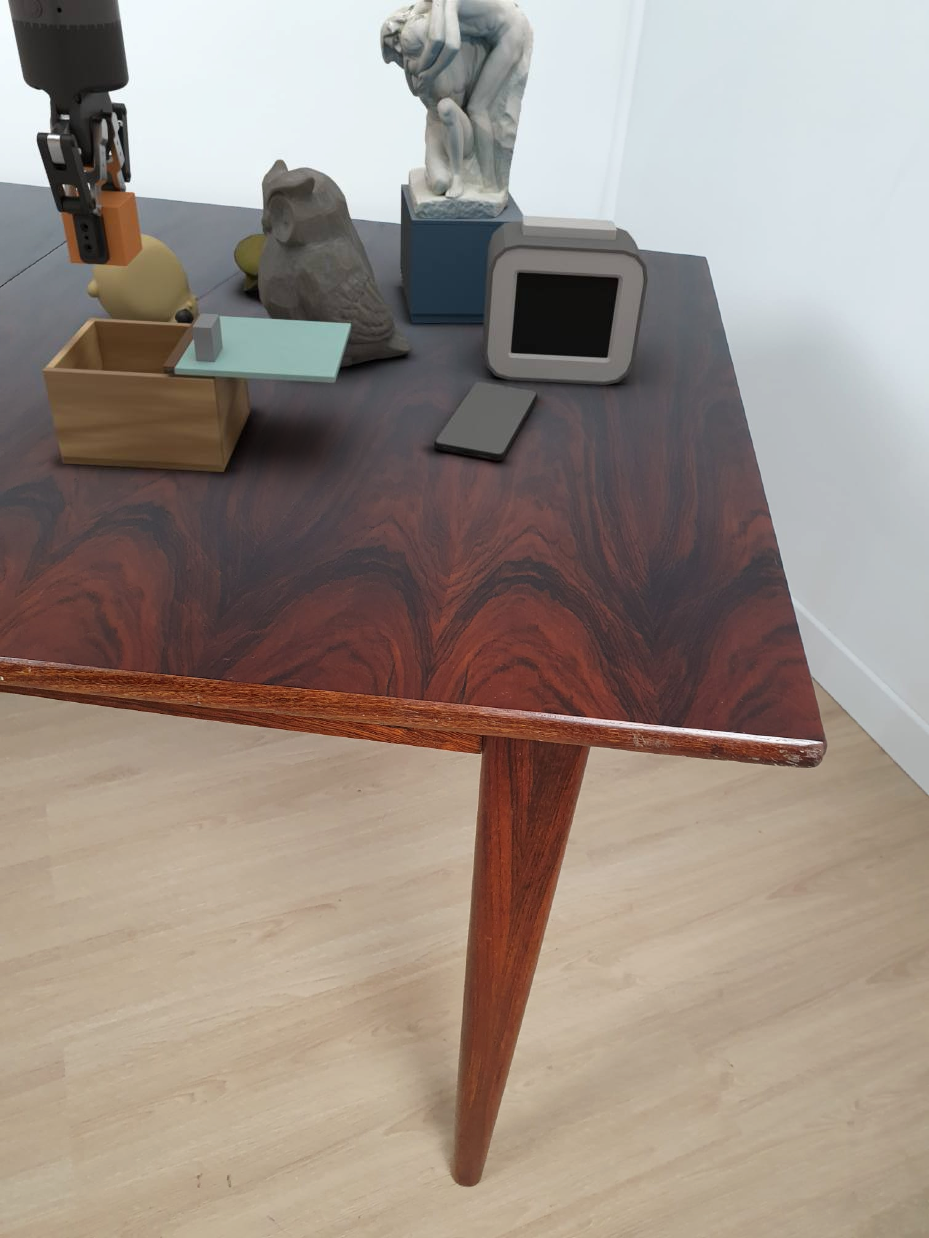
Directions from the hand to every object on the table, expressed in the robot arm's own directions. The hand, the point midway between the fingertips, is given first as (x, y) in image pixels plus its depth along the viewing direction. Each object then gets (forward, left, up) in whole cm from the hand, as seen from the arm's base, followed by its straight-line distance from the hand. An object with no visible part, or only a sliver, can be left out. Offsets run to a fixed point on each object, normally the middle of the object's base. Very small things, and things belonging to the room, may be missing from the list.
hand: (106, 251), depth 81 cm
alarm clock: (+47, +1, -18) cm, 50 cm away
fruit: (+26, +36, -18) cm, 48 cm away
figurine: (+25, +12, -18) cm, 33 cm away
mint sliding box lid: (+11, -5, -8) cm, 15 cm away
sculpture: (+45, +23, -18) cm, 54 cm away
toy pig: (+8, +27, -18) cm, 33 cm away
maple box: (+2, 0, -17) cm, 17 cm away
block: (0, 0, 0) cm, 0 cm away
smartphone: (+32, -10, -17) cm, 38 cm away
